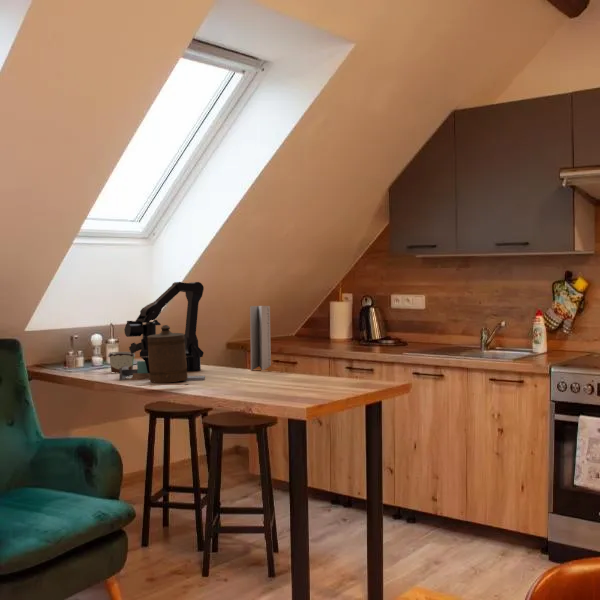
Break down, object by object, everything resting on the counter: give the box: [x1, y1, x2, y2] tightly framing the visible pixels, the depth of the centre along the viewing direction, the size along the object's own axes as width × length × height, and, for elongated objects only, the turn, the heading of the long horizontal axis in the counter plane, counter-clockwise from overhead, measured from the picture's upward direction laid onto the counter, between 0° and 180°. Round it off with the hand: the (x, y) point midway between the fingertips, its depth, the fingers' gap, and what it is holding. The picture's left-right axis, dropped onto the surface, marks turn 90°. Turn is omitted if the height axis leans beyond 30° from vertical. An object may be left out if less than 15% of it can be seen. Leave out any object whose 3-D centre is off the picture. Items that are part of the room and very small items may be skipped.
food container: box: [107, 351, 136, 372], centre depth 358 cm, size 12×6×10 cm, turn 84°
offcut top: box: [132, 373, 150, 378], centre depth 329 cm, size 12×3×2 cm, turn 96°
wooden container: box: [148, 324, 189, 384], centre depth 313 cm, size 15×15×22 cm
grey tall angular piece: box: [249, 305, 272, 371], centre depth 349 cm, size 14×6×30 cm, turn 168°
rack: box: [119, 365, 137, 381], centre depth 336 cm, size 22×20×5 cm
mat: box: [182, 375, 206, 382], centre depth 323 cm, size 12×10×1 cm
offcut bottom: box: [130, 376, 150, 381], centre depth 329 cm, size 13×4×2 cm, turn 95°
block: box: [136, 360, 148, 373], centre depth 338 cm, size 10×3×7 cm, turn 95°
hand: (149, 372), depth 338 cm, fingers open, 4 cm apart
